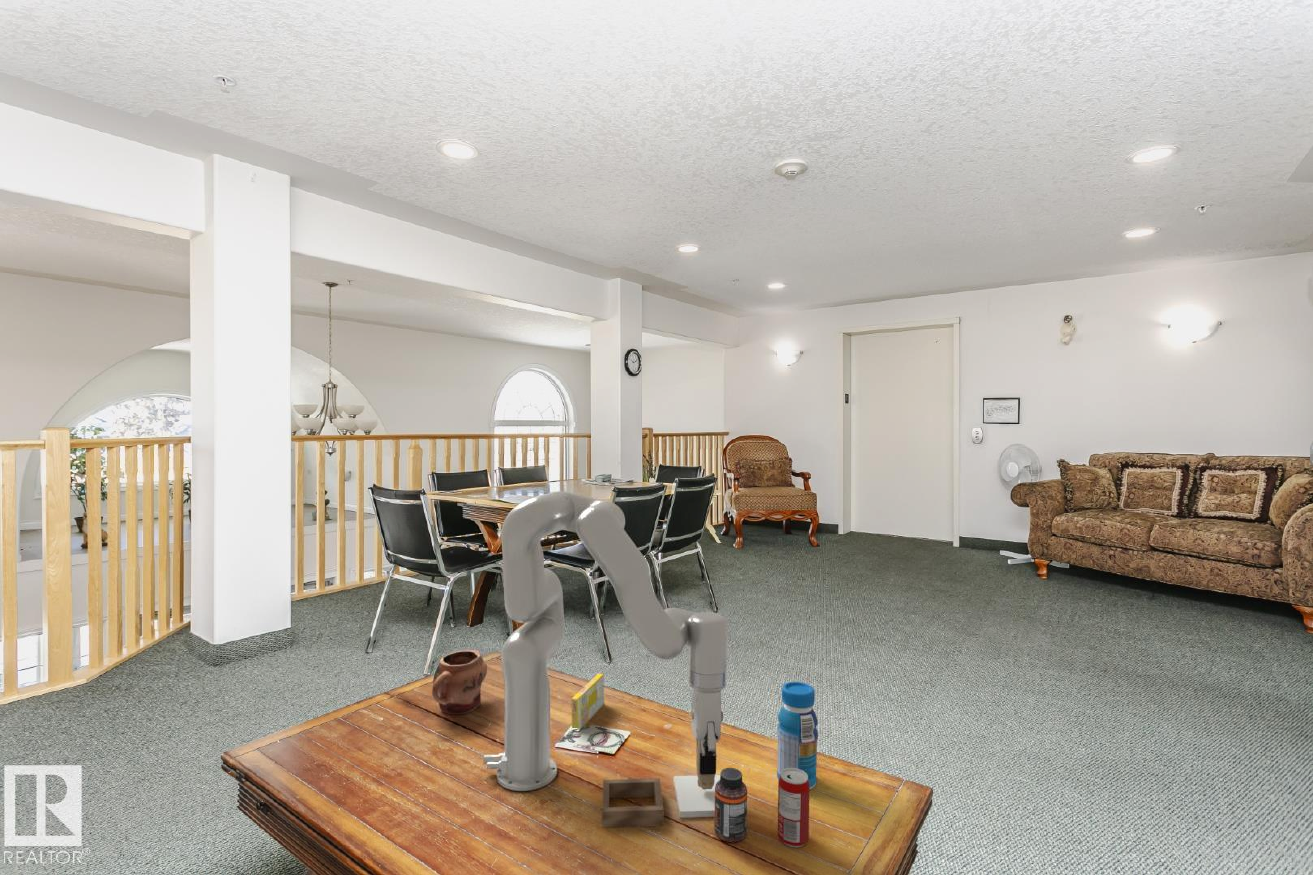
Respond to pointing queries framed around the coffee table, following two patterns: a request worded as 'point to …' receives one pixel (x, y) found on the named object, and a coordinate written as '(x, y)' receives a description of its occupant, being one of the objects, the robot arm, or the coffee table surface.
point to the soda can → (793, 807)
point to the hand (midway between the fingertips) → (706, 766)
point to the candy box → (587, 701)
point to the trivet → (694, 797)
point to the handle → (703, 780)
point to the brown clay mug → (459, 681)
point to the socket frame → (632, 814)
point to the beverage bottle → (798, 730)
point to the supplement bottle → (730, 806)
